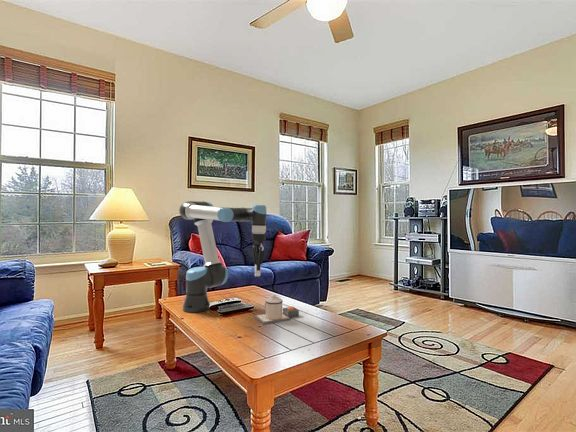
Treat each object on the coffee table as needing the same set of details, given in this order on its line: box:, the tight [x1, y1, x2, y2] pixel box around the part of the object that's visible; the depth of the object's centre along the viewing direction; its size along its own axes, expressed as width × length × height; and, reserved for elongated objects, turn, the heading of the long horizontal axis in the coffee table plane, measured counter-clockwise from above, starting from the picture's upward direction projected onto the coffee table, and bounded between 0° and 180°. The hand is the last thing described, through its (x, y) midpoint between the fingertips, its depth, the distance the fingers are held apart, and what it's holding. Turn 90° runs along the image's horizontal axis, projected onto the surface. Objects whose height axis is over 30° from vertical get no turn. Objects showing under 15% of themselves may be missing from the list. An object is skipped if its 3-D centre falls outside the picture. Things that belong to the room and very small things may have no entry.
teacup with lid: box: [264, 294, 284, 320], centre depth 169 cm, size 12×9×12 cm
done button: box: [286, 305, 294, 311], centre depth 175 cm, size 4×4×3 cm
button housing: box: [282, 306, 300, 319], centre depth 175 cm, size 6×6×4 cm
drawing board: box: [253, 312, 292, 325], centre depth 170 cm, size 13×16×1 cm
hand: (257, 275), depth 176 cm, fingers closed
